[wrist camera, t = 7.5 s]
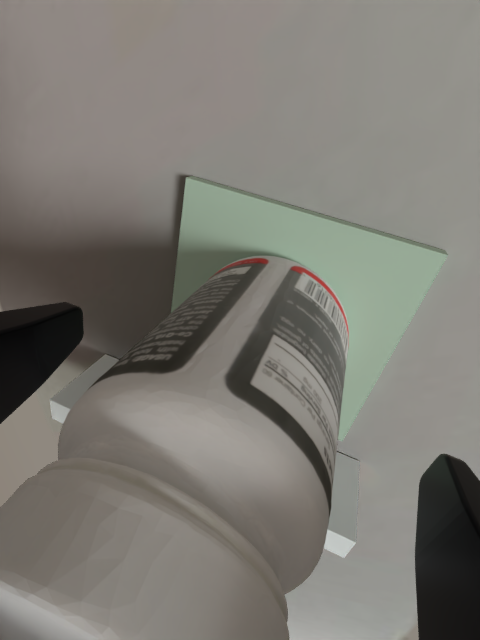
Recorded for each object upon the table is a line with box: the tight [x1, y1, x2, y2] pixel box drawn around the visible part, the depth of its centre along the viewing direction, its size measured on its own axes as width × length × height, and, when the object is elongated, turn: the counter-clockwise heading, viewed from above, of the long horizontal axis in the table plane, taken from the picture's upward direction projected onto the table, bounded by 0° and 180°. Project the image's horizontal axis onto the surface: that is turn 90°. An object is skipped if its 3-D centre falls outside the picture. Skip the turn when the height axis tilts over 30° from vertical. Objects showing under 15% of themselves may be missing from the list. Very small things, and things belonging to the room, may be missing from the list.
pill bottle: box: [0, 256, 349, 640], centre depth 7 cm, size 5×5×8 cm
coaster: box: [171, 176, 448, 441], centre depth 11 cm, size 7×7×1 cm
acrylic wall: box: [50, 354, 360, 558], centre depth 13 cm, size 1×11×3 cm, turn 79°
